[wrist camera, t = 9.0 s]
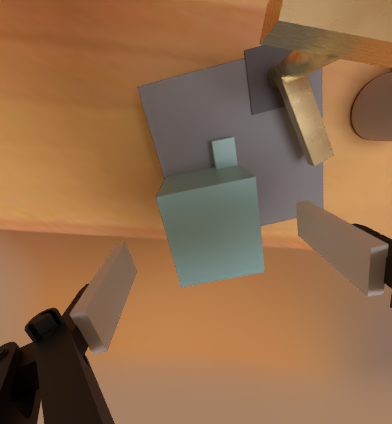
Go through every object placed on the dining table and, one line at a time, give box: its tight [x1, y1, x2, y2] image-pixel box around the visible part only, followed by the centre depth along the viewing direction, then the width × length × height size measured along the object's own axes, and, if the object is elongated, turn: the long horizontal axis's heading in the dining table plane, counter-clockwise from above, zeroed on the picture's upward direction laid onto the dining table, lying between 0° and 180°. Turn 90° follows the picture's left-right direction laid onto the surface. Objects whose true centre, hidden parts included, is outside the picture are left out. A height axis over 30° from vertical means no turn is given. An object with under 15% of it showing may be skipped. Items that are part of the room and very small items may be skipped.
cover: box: [156, 137, 265, 287], centre depth 18 cm, size 10×7×7 cm, turn 11°
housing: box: [137, 45, 323, 226], centre depth 23 cm, size 16×16×6 cm
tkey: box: [260, 0, 392, 166], centre depth 14 cm, size 10×8×10 cm
